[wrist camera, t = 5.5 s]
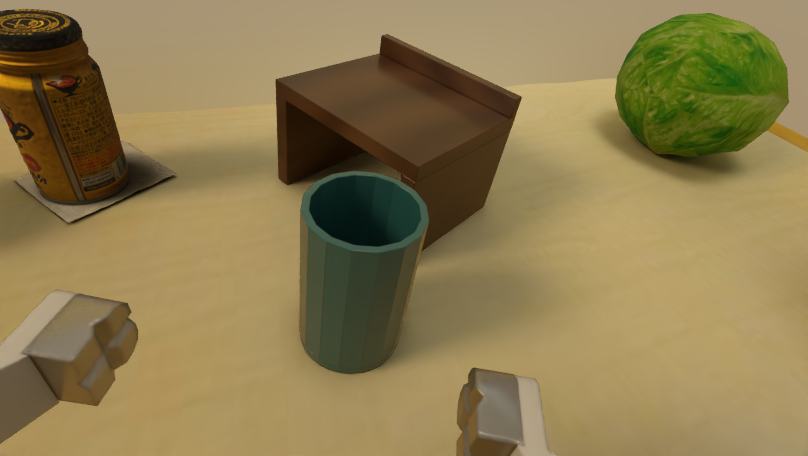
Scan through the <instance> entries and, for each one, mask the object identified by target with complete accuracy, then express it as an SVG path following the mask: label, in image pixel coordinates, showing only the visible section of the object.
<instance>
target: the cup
mask: <svg viewBox="0 0 808 456" xmlns="http://www.w3.org/2000/svg"><path fill="white" fill-rule="evenodd" d="M428 224H429V216H428V210H427V205H426V204H425V202H424V201H423V200H422V198H421V197H420V196H419V195H418V193H417V192H416V191H415V190H414V189H412V188H410V187H409V186H407V185H406V184H404V183H403V182H401V181H400V180H398V179H395V178H392V177H389V176H385V175H382V174H379V173H374V172H363V171H349V172H342V173H335V174H331V175H329V176H327V177H325V178H323V179H320V180H318V181H316V182H314V184H313V185H312V186H311V187H310V188H309V189H308V190H307V191H306V192H305V193H304V195H303V198H302V204H301V210H300V319H299V329H300V336H301V341H302V344H303V346H304V348H305V350H306V352H307V353H308V354H309V356H310V357H311V358H312V359H313V360H314V361H316V362H317V363H318V364H320V365H321V366H323V367H325V368H327V369H329V370H332V371H336V372H340V373H360V372H365V371H369V370H371V369H374V368H376V367H377V366H379V365H381V364H382V363H383V362H385V361H386V360H387V359H388V358H389V357H390V356H391V354H392V353H393V352H394V350H395V348H396V345H397V342H398V339H399V336H400V334H401V330H402V326H403V322H404V318H405V314H406V310H407V306H408V302H409V298H410V294H411V290H412V286H413V283H414V279H415V275H416V271H417V267H418V263H419V259H420V255H421V251H422V247H423V243H424V239H425V235H426V231H427V228H428Z"/></svg>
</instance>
